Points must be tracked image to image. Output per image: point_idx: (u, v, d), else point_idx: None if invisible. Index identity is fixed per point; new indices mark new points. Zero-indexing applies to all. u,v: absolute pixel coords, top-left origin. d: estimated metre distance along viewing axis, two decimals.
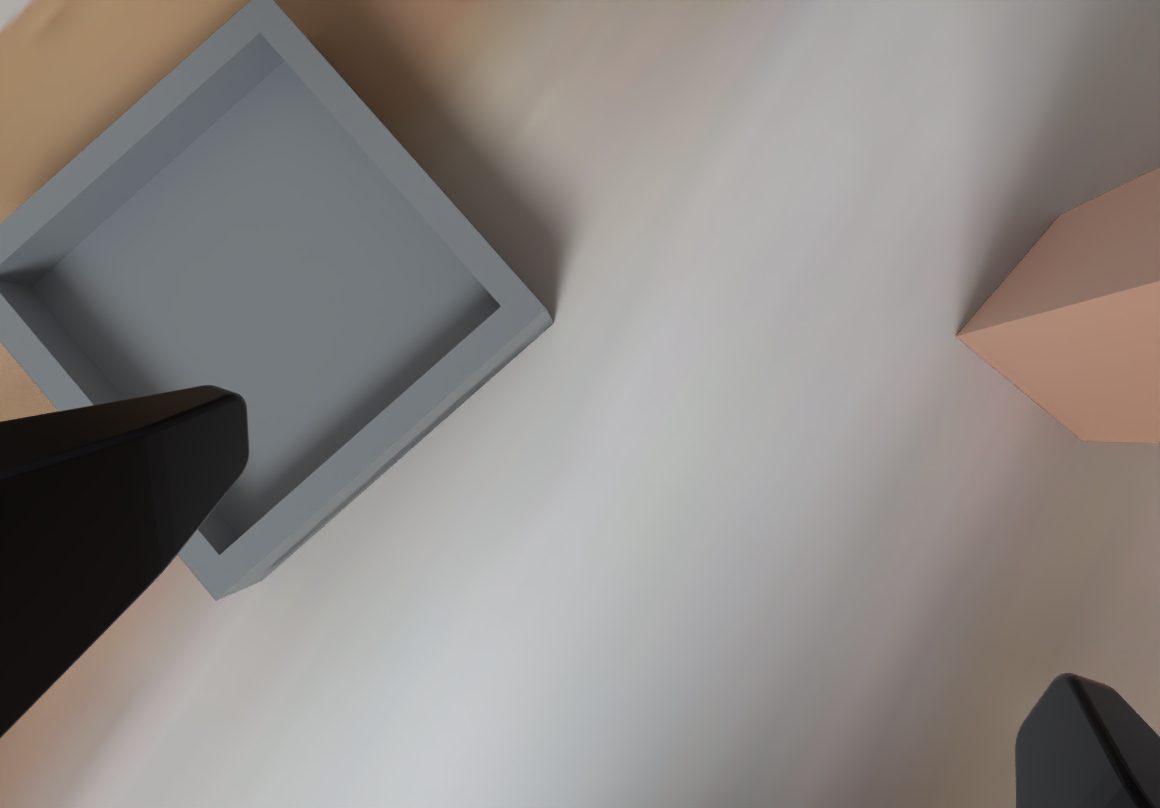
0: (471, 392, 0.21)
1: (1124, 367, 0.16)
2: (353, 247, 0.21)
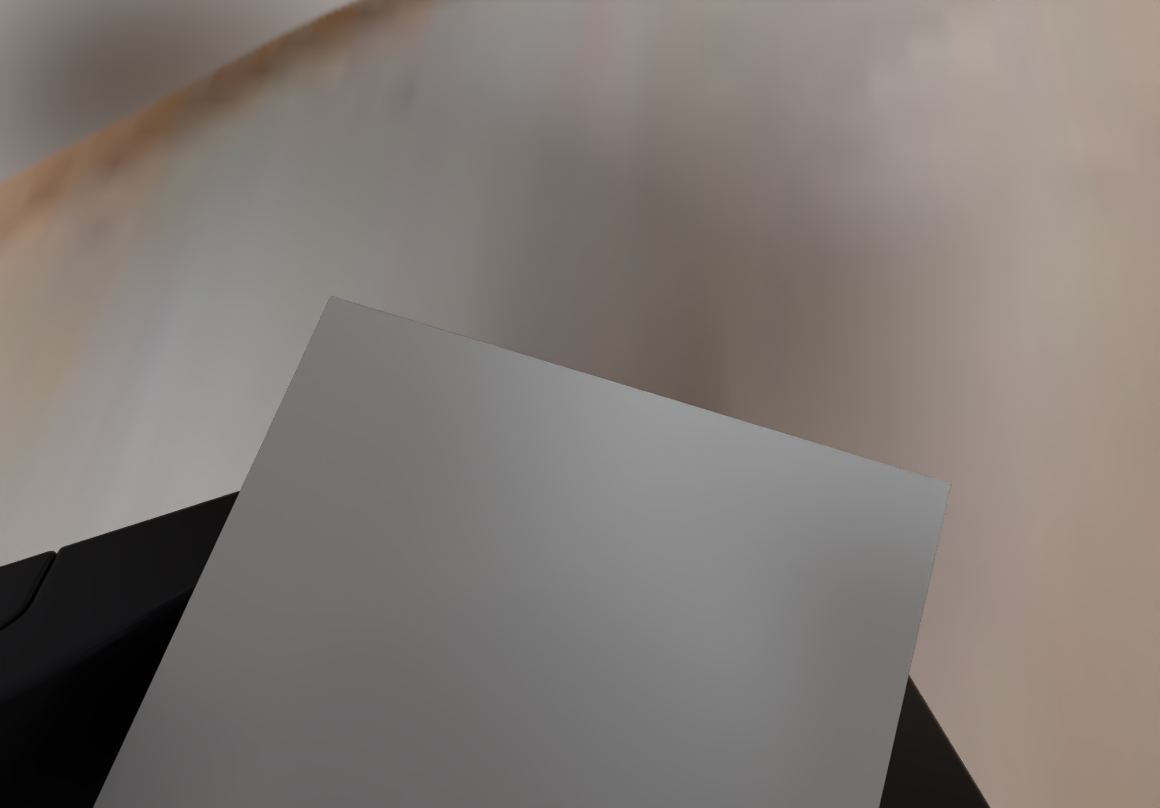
0: None
1: None
2: None
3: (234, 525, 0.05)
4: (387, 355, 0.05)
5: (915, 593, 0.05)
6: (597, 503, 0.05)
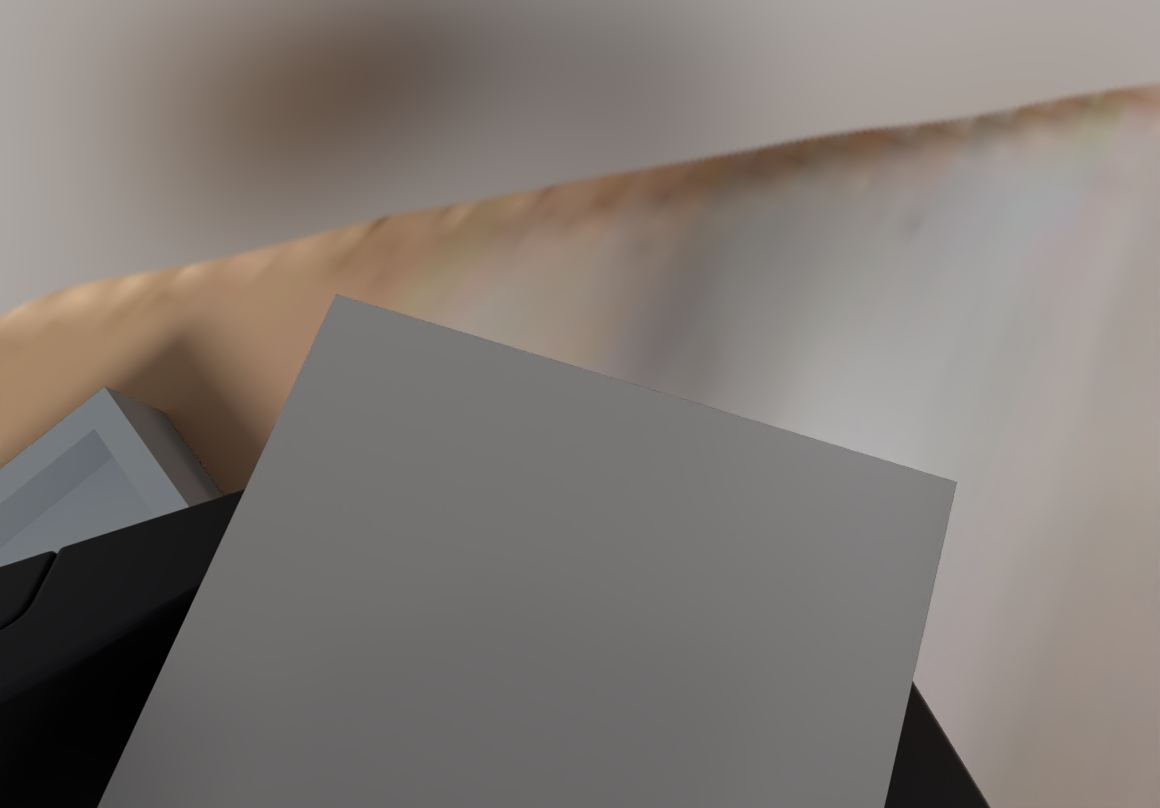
0: None
1: None
2: None
3: (239, 522, 0.05)
4: (392, 353, 0.05)
5: (920, 591, 0.05)
6: (602, 501, 0.05)
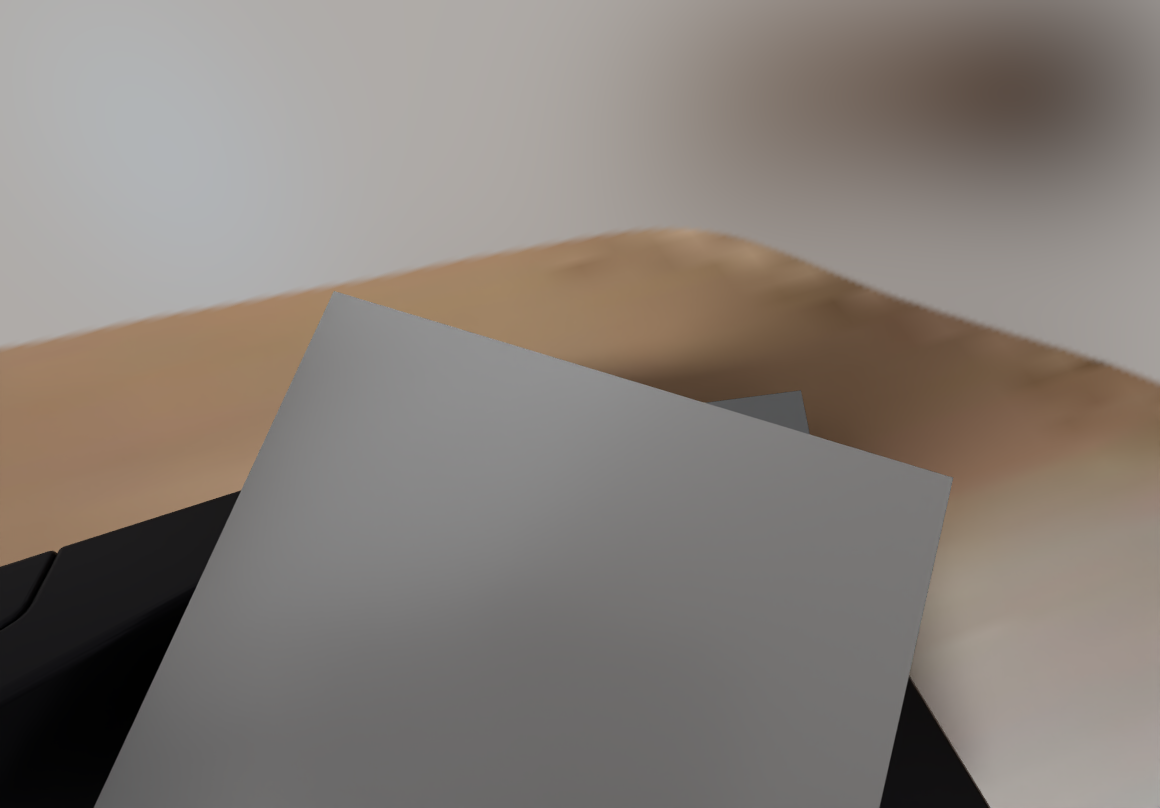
0: None
1: None
2: None
3: (237, 518, 0.05)
4: (390, 350, 0.05)
5: (917, 586, 0.05)
6: (599, 496, 0.05)
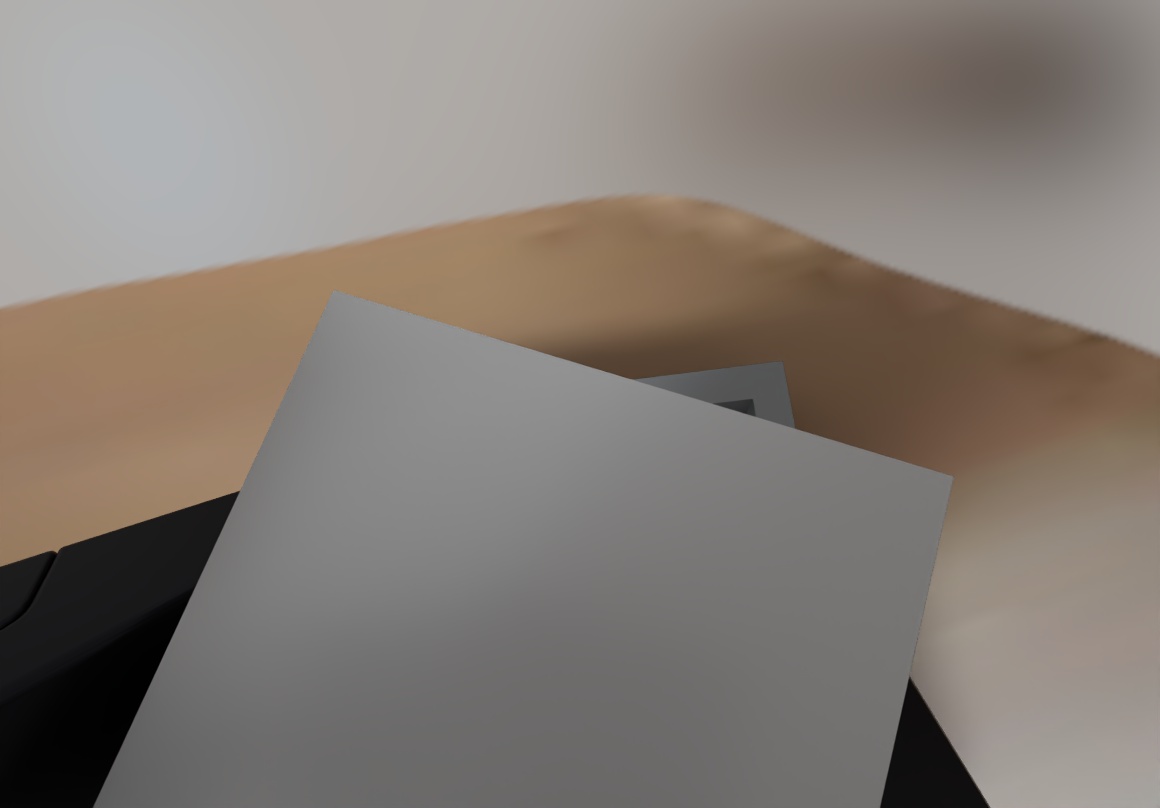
0: None
1: None
2: None
3: (236, 518, 0.05)
4: (390, 348, 0.05)
5: (917, 584, 0.05)
6: (600, 495, 0.05)
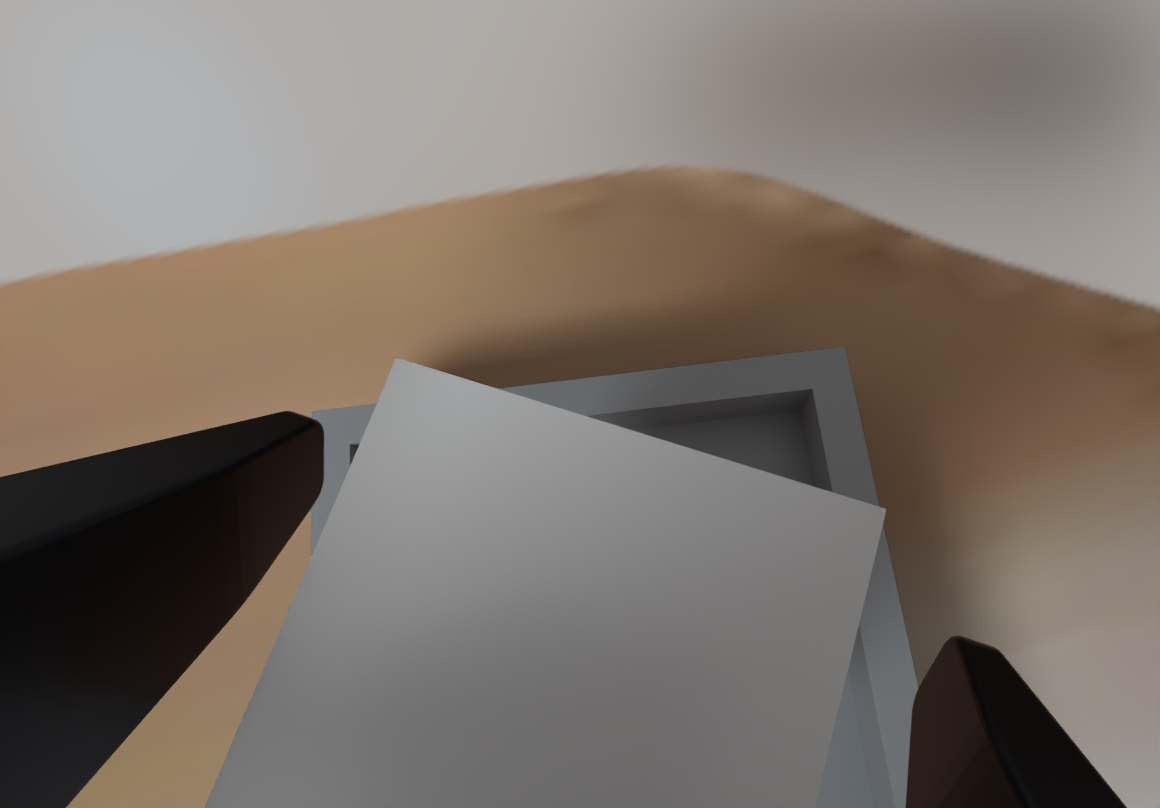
0: None
1: None
2: None
3: (326, 542, 0.07)
4: (443, 406, 0.07)
5: (857, 593, 0.06)
6: (611, 524, 0.06)
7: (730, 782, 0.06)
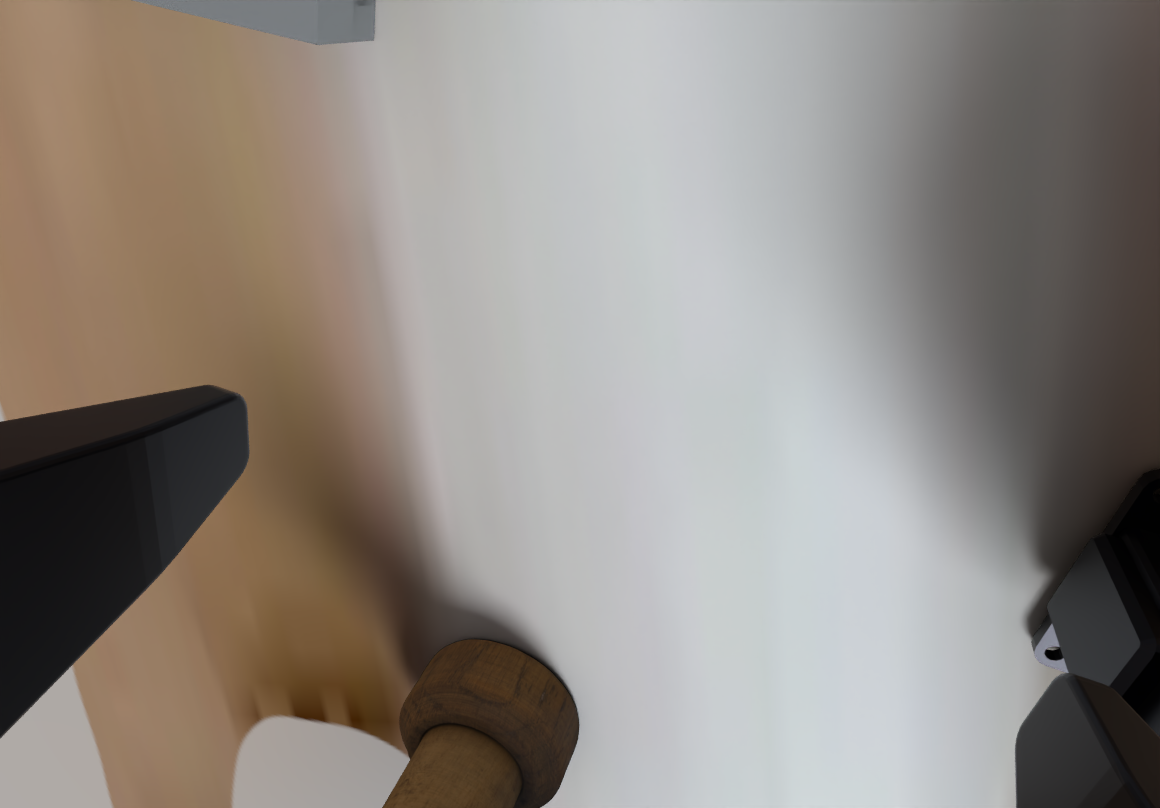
0: None
1: None
2: None
3: None
4: None
5: None
6: None
7: None
